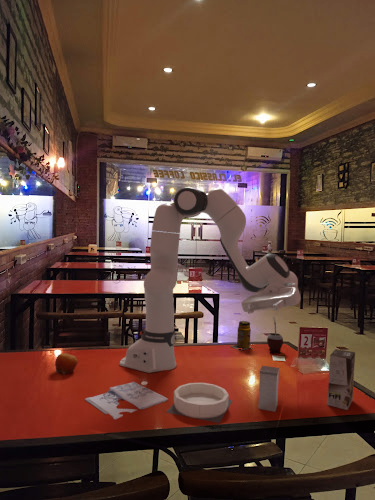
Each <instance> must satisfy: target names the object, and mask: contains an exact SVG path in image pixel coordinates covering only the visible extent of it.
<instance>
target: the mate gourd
mask: <svg viewBox="0 0 375 500" xmlns="http://www.w3.org/2000/svg"><path fill="white" fill-rule="evenodd" d="M272 319H273V324H274V333H273V332H271V333H269V334H268V336H267V338H266V342H267V346H268V348H269V349H268V351H269V350H270V351H269V353H270V354H274V353H275V352H276V354H279V355H280V354H281V350H282V347H283V344H284V338H283V336H282V334H280V333H277V322H276V318H275V316H273V318H272ZM273 352H274V353H273Z"/></svg>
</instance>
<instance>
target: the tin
mask: <svg viewBox="0 0 375 500" xmlns="http://www.w3.org/2000/svg"><path fill="white" fill-rule="evenodd" d="M279 375H280V368H279V367H275V366H268V365H262V366H261V367H260V369H259V386H258V409H259V410H263V411H268V412H276V410H277V407H278V402H279V401H278V396H279Z"/></svg>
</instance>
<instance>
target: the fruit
mask: <svg viewBox="0 0 375 500" xmlns="http://www.w3.org/2000/svg"><path fill="white" fill-rule="evenodd" d="M78 363H79V360H78V358H77V356H75V355H72V354H70V353H65V352H64V353H61V354H58V355H57V356H56V359H55V361H54V366H55V370H56V371H55V372H56V373H55V374H57V373H62V374H63V375H65V374H68V373H69V374H70V373H72V372H74V370H75V368H76V367H77V365H78Z"/></svg>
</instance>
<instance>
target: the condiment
mask: <svg viewBox="0 0 375 500" xmlns="http://www.w3.org/2000/svg"><path fill="white" fill-rule="evenodd" d="M251 332H252V331H251V322H250V321H247V320H246V321H245V320H240V321H239V322H238V326H237V338H236V341H237V343H236V344H234V345H233V344H232V345H231V344H230V347H232V348H233V349H236V350H238V348H242V349H241V350H240V351H243V350H249V349H248V348H250V347H251Z"/></svg>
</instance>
